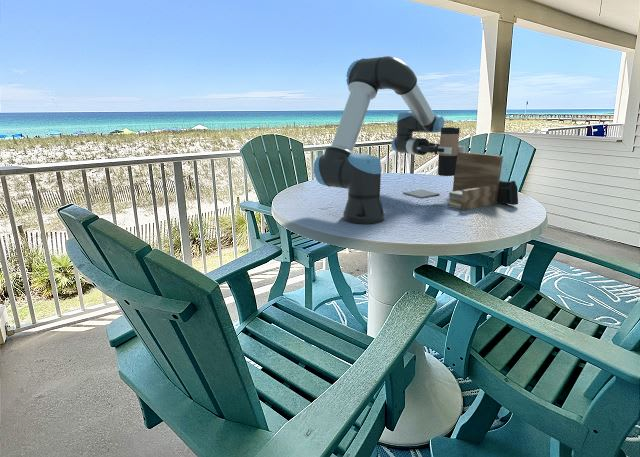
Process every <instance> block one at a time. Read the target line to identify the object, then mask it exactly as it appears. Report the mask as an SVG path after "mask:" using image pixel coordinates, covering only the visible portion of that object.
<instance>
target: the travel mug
mask: <svg viewBox="0 0 640 457" xmlns="http://www.w3.org/2000/svg"><path fill="white" fill-rule="evenodd" d="M460 130H461V128H460V127H451V126H448V127H443V128H441V132H440V136H439V144H440V146H441V147H452V152H451V154H443V153H438V160H437V161H438V162H437V175H438V176H441V177H454V175H455V170H456V162H457V154H458V146H459V140H460Z"/></svg>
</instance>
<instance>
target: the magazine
mask: <svg viewBox="0 0 640 457" xmlns="http://www.w3.org/2000/svg"><path fill="white" fill-rule="evenodd" d="M518 194H519V192H518V185H517V183H516V181H515V180H511V181H503V180H500V182H499V189H498V196H497V203H500V204H506V205H512V206H516V205H519V195H518Z"/></svg>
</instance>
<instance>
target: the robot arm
mask: <svg viewBox="0 0 640 457" xmlns="http://www.w3.org/2000/svg"><path fill="white" fill-rule="evenodd" d="M346 77H347V78H346V84H347V86H348V87H347V88H348V89H347V90H348V91H349V95H348V99H347V101H346V104H345V107H344V109H343V112H342V115H341V118H340V121H339V124H338V126H337V129H336V132H335V134H334V137H333V140H332V142H331V143H332V144H331V145H329V146H327V147H326V148H325V151H324V154H321V155H318V156H317V157H316V158H315V160H314V163H313V174H314V177H315V178H314V179H315V180H316V181H317V182H318V184H320V185H322V186H327V187H328V188H329V187H333V188H339V189H347V195H348V196H347V201H346V203H345V208H344V210H343V213H342V214H343V215H342V216H343V220H344V221H346V222H348V223H352V224H359V225H362V224H363V225H370V224H376V223H380V222H382V221H384V220H385V212H384V209H383V204H382V200H381V180H382V162H381V159H380V158H379V157H377V156H374V155H371V154H366V153H353V152H354V149H355V146H356V143H357V140H358V136H359V134H360V132H361V129H362V126H363V123H364V119H365V117H366V114H367V112H368V108H369V105H370V102H371V100H373V99H375V98H376V96H377V94H378V92H379V90H392V91H394V93H395V94H397V95H398V96H400V97H401V98H402V100H403V101H404V103H405V104H406V105H407V107H408V109H409V110H410V111H399V112H398V113H397V120H396V136H395V137H394V138H393V139H392V141H391V149H392V150H393V151H394V152H397V153H403V154H411V155H412V156H415V155H418V156H419V155H420V156H425V155H426V154H427V153H430V154H433V153H434V155H438V154H439V153H443V154H451V152H452V147H441V146H440V143H434V142H430V141H429V140H428V139H427V138H422V137H413V133H431V134H435V133H437V134H438V133H441V128H443V127H444V126H445V118H444V117H443V116H442V115H438V114H437V115H436V114H435V113H434V110H432V107H431V106H430V104H429V102H428V101H427V99H426V97H425V95H424V93H423V92H422V90H421V88H420V86H419V85H418V77H417V75H416V74H415V72H414V71H413V69H412V68H411V67H410V66H409V65H408V64H406V62H404V61H402V60H401V59H400V58H398V57H395V56H391V55H390V56H389V55H388V56H386V55H385V56H380V57H379V56H378V57H371V58H361V59H356V60H354V61H352V62H351V64H350V65H349V67H348V68H347V71H346ZM465 151H466V146H464V145H458V152H459V153H465Z"/></svg>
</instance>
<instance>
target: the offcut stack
mask: <svg viewBox="0 0 640 457" xmlns="http://www.w3.org/2000/svg"><path fill="white" fill-rule="evenodd" d="M468 189H472V188H468ZM463 190H466V189H463ZM463 190H459V191H454V192H453V191H450V192H449V194H448V197H449V198H450V201H448V202H447V207H450V208H454V209H455V208H456V209H459V208H460V210H461V200H462V191H463Z"/></svg>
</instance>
